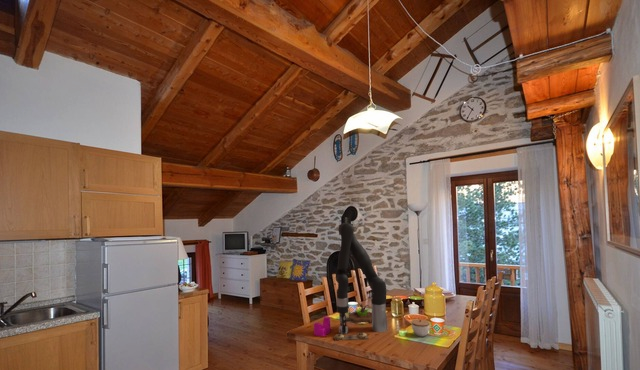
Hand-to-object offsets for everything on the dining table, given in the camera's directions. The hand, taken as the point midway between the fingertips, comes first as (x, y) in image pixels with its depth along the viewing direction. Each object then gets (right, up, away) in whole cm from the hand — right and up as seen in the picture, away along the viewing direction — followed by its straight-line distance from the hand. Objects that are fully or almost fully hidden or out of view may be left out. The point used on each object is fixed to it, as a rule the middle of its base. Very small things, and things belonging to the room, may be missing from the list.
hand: (343, 330), depth 227 cm
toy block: (-12, -2, +2) cm, 12 cm away
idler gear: (0, -1, 0) cm, 1 cm away
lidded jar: (+48, 0, -7) cm, 49 cm away
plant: (+16, -3, +27) cm, 31 cm away
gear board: (+4, -1, -10) cm, 11 cm away
